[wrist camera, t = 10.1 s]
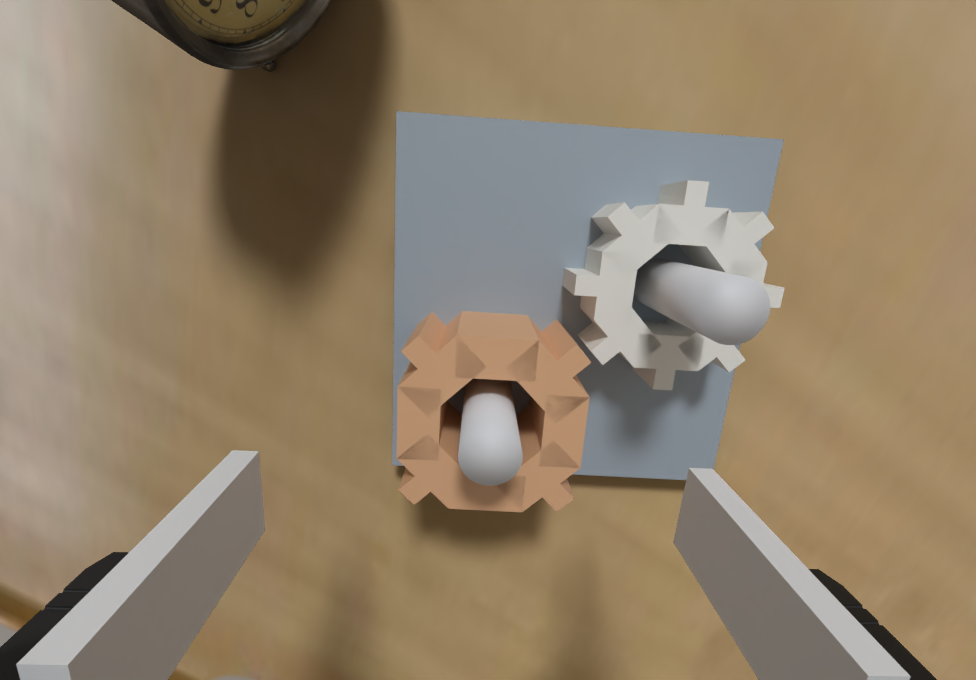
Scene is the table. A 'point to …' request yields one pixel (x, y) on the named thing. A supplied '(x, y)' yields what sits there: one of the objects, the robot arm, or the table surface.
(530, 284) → the gear board
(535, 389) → the loose gear
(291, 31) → the alarm clock
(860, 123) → the table surface
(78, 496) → the table surface
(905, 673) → the robot arm
